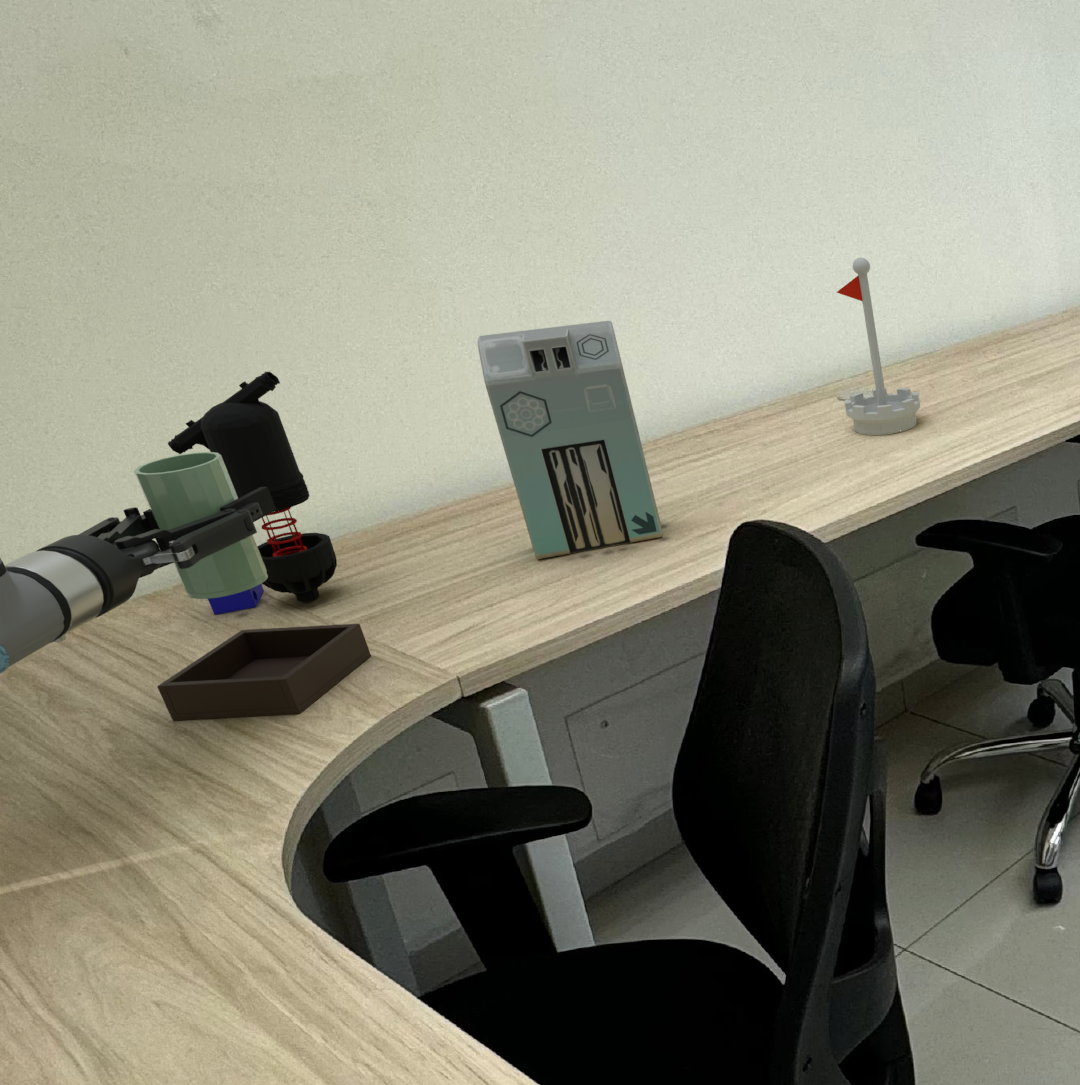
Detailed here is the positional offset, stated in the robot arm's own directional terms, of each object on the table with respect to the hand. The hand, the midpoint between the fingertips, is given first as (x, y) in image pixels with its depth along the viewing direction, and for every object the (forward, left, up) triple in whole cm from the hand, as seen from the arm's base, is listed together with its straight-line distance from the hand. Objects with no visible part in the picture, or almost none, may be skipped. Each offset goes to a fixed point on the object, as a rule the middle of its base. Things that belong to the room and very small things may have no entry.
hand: (231, 500), depth 136 cm
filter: (-12, +20, -21) cm, 32 cm away
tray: (+1, -5, -21) cm, 21 cm away
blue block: (-22, +23, -21) cm, 38 cm away
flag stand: (+52, +87, -21) cm, 103 cm away
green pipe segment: (0, -5, -8) cm, 9 cm away
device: (+21, +36, -21) cm, 47 cm away
